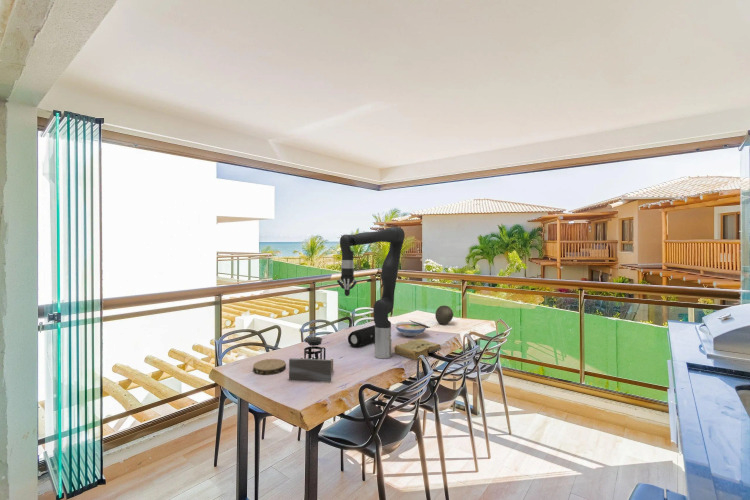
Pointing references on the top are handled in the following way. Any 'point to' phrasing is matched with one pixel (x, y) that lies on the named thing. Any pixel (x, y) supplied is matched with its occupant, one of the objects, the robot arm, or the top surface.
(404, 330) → the ramen bowl
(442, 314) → the dark grey ball
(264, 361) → the wood slice
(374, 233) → the robot arm
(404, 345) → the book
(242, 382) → the top surface
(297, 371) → the docking bay
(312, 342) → the french press
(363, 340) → the portable speaker
